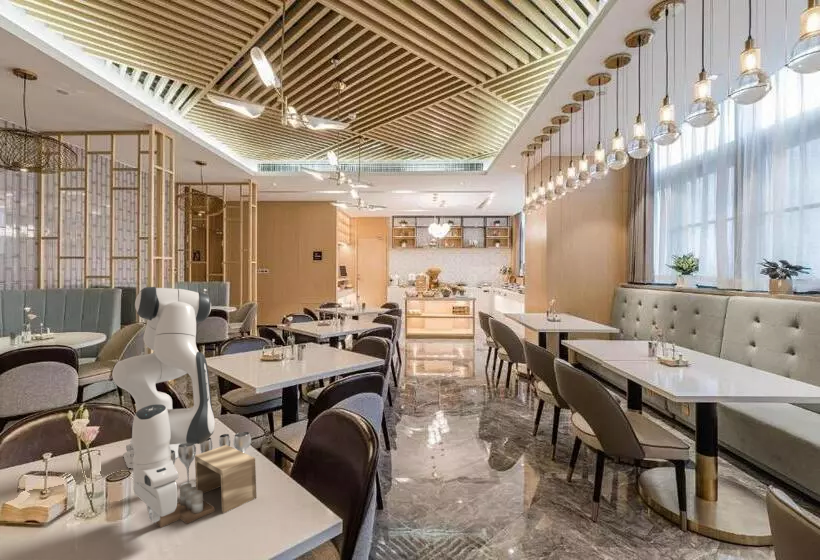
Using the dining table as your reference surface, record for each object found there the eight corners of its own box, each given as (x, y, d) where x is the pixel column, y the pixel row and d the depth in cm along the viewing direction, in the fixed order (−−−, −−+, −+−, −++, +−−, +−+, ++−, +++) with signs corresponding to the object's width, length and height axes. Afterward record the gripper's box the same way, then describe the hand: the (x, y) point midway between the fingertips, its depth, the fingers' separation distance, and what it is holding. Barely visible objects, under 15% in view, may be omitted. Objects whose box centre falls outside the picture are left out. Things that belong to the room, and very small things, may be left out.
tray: (150, 518, 119) (149, 496, 119) (196, 499, 129) (195, 478, 128) (167, 533, 112) (166, 509, 112) (214, 511, 122) (213, 489, 122)
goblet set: (160, 496, 131) (159, 453, 131) (158, 489, 135) (156, 447, 135) (254, 469, 148) (253, 431, 147) (249, 463, 152) (248, 426, 152)
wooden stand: (196, 494, 131) (194, 455, 131) (227, 481, 139) (226, 444, 139) (224, 513, 121) (222, 470, 120) (256, 498, 128) (255, 458, 128)
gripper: (125, 462, 119) (127, 512, 119) (154, 484, 106) (156, 539, 106) (151, 454, 124) (152, 502, 124) (181, 474, 110) (183, 527, 111)
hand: (154, 519), depth 115 cm, fingers closed
